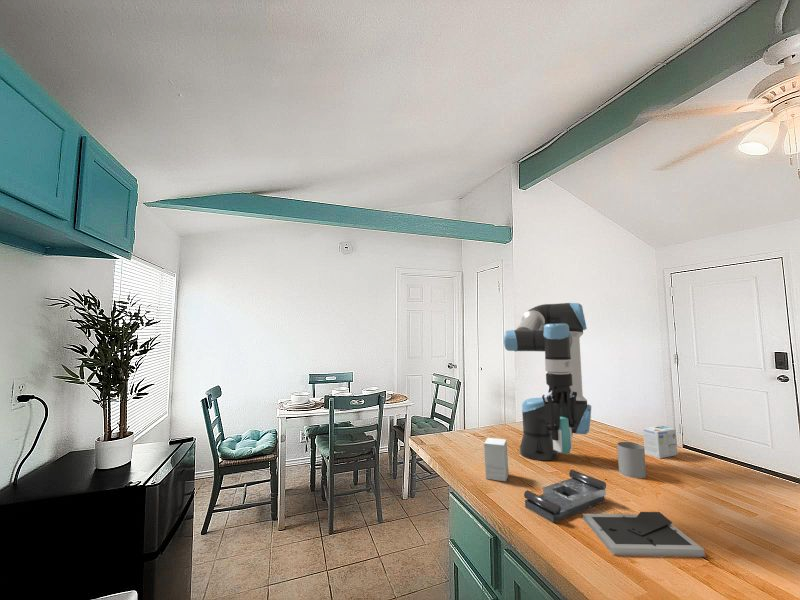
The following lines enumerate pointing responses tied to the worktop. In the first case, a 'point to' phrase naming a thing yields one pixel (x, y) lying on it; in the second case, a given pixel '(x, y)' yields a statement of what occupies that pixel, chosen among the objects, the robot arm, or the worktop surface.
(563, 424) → the pin
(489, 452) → the supplement box
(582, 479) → the plate with side rollers
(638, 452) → the cup
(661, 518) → the picture frame
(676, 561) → the worktop surface
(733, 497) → the worktop surface
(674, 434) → the light bulb box
